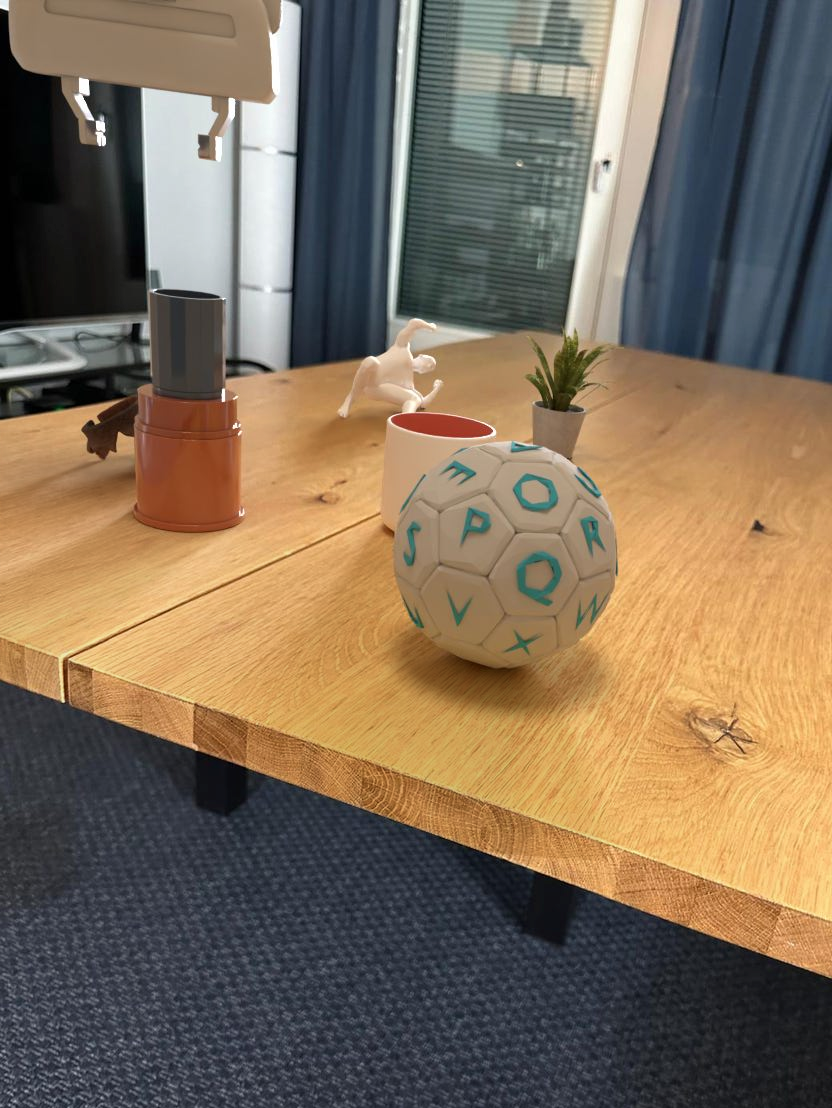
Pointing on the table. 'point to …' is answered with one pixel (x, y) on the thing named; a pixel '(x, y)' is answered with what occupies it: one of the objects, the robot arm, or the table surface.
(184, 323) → the slate cup
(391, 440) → the cup
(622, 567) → the table surface
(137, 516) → the orange stepped cylinder
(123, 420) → the dark brown jagged part
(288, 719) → the table surface
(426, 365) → the person figurine
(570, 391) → the house plant
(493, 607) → the puzzle ball
